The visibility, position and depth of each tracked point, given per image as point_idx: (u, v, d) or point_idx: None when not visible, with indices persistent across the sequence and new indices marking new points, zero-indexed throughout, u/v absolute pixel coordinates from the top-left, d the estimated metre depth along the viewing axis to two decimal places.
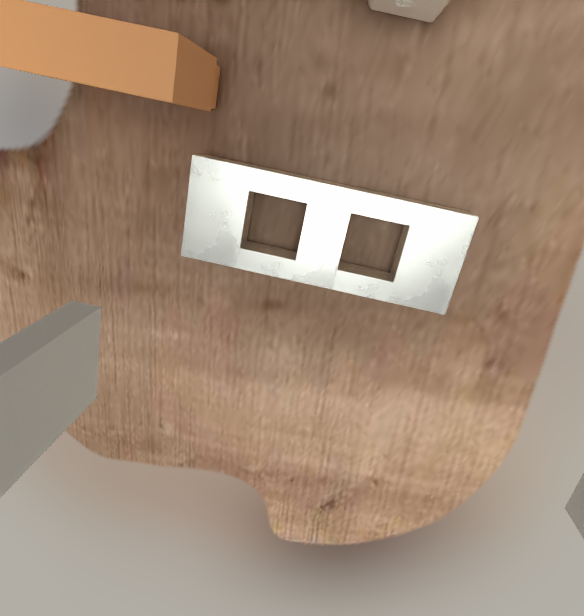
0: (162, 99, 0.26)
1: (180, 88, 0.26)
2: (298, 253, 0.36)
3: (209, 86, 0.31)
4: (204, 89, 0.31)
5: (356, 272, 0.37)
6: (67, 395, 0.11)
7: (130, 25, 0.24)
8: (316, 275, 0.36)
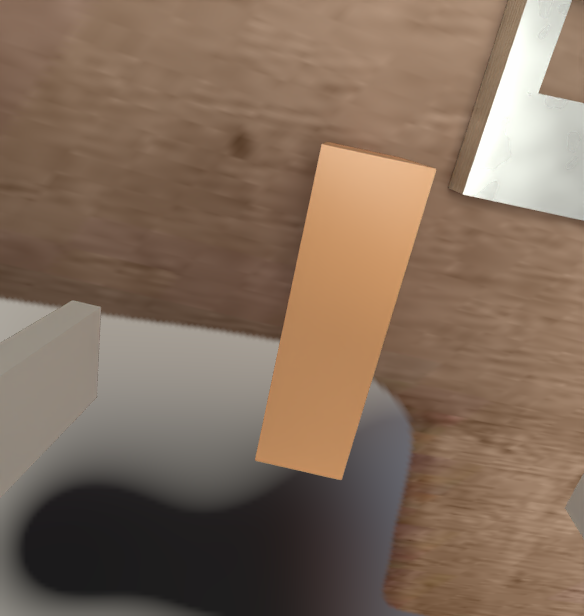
0: (428, 187, 0.14)
1: None
2: None
3: (369, 151, 0.20)
4: (378, 153, 0.19)
5: None
6: (67, 395, 0.11)
7: (307, 232, 0.14)
8: None
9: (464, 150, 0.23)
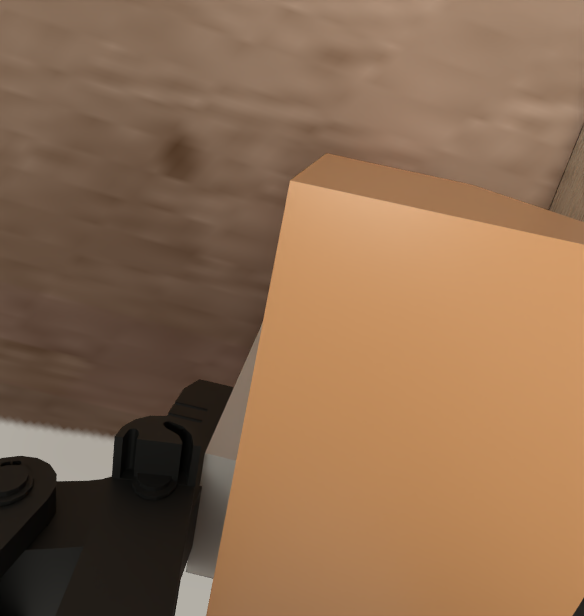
0: None
1: (578, 230, 0.04)
2: None
3: (412, 173, 0.10)
4: (438, 181, 0.09)
5: None
6: None
7: (246, 475, 0.04)
8: None
9: (581, 168, 0.12)
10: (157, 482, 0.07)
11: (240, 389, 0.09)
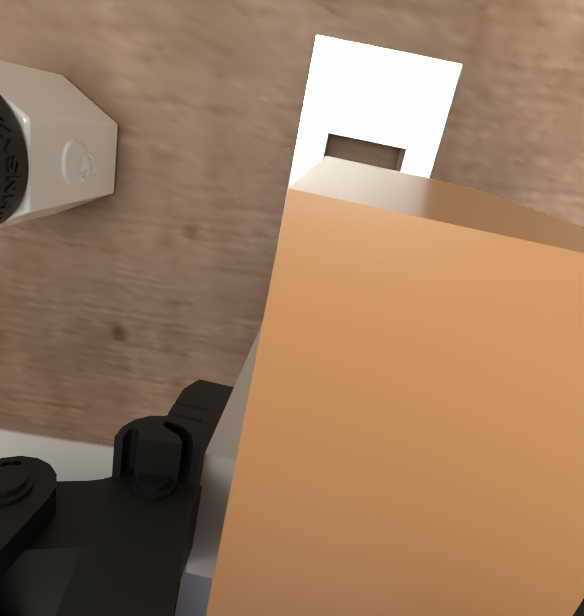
0: None
1: (576, 236, 0.04)
2: None
3: (412, 176, 0.10)
4: (437, 183, 0.09)
5: None
6: None
7: (245, 480, 0.04)
8: None
9: None
10: (157, 482, 0.07)
11: (240, 389, 0.09)
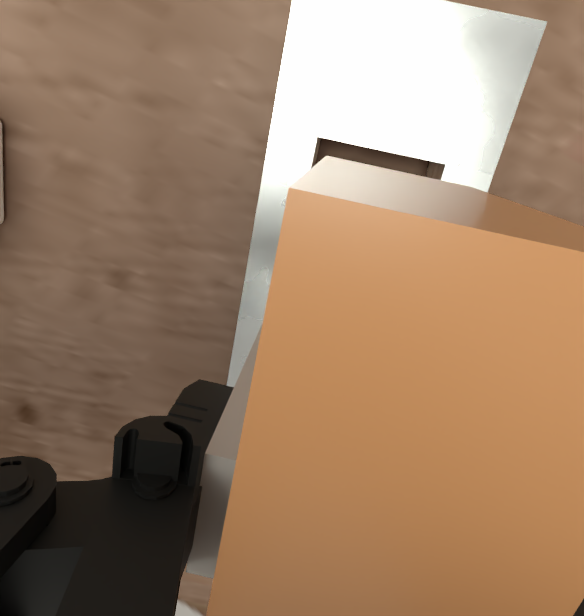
0: None
1: (576, 236, 0.04)
2: None
3: (412, 175, 0.10)
4: (437, 183, 0.09)
5: None
6: None
7: (245, 480, 0.04)
8: None
9: None
10: (157, 482, 0.07)
11: (240, 389, 0.09)
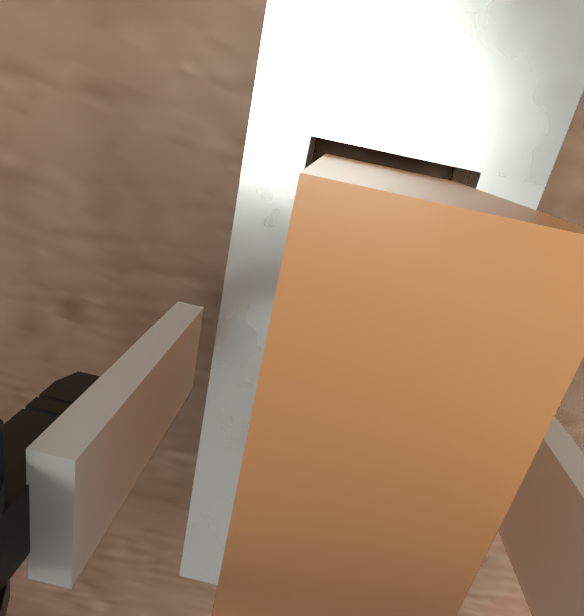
0: None
1: (513, 211, 0.06)
2: None
3: (401, 171, 0.11)
4: (421, 177, 0.10)
5: None
6: (179, 386, 0.12)
7: (265, 394, 0.06)
8: None
9: None
10: None
11: (104, 381, 0.08)
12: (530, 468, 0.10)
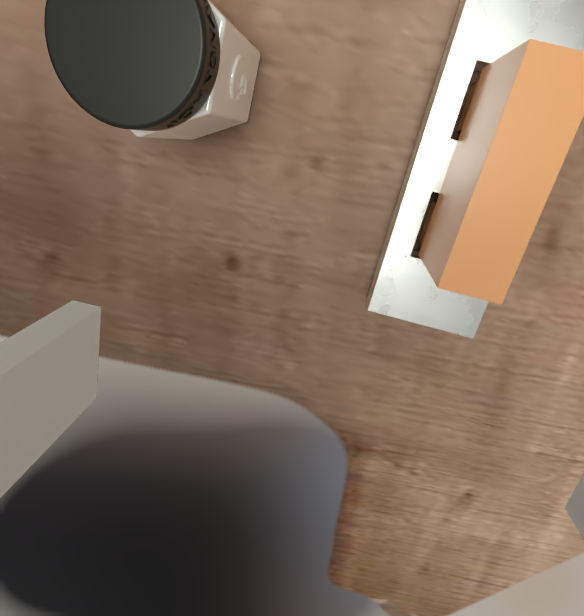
0: None
1: None
2: None
3: None
4: None
5: None
6: (67, 395, 0.11)
7: (509, 103, 0.21)
8: None
9: (374, 278, 0.35)
10: None
11: None
12: None
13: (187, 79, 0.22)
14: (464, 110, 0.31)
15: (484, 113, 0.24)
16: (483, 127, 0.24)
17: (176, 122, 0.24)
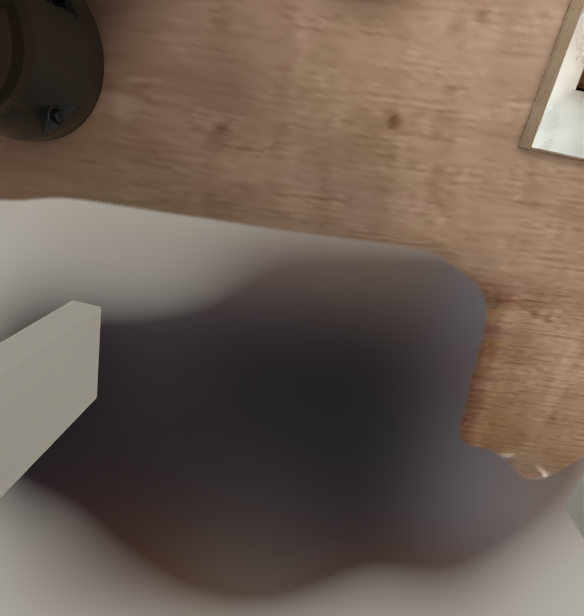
0: None
1: None
2: None
3: None
4: None
5: None
6: (67, 395, 0.11)
7: None
8: None
9: (530, 123, 0.39)
10: None
11: None
12: None
13: None
14: None
15: None
16: None
17: None
